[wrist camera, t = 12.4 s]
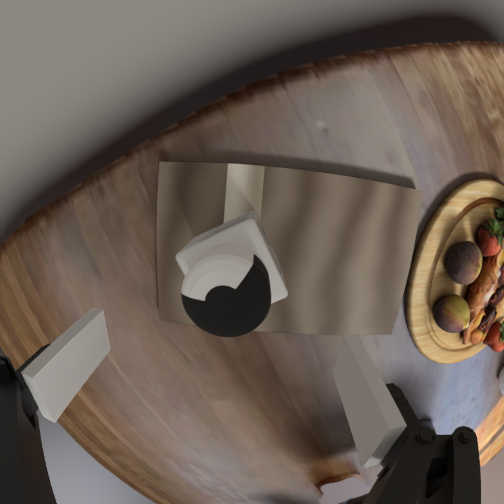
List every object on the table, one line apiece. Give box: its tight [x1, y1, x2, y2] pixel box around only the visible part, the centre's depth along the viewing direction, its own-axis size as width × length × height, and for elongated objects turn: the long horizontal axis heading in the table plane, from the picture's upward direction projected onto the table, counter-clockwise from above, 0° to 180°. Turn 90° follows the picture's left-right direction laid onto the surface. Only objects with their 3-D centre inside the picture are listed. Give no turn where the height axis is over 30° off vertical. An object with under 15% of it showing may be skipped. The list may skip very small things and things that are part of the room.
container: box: [176, 210, 288, 337], centre depth 25 cm, size 8×8×13 cm
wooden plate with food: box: [406, 178, 504, 364], centre depth 29 cm, size 32×32×8 cm
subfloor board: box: [157, 162, 422, 335], centre depth 32 cm, size 32×20×2 cm, turn 86°
